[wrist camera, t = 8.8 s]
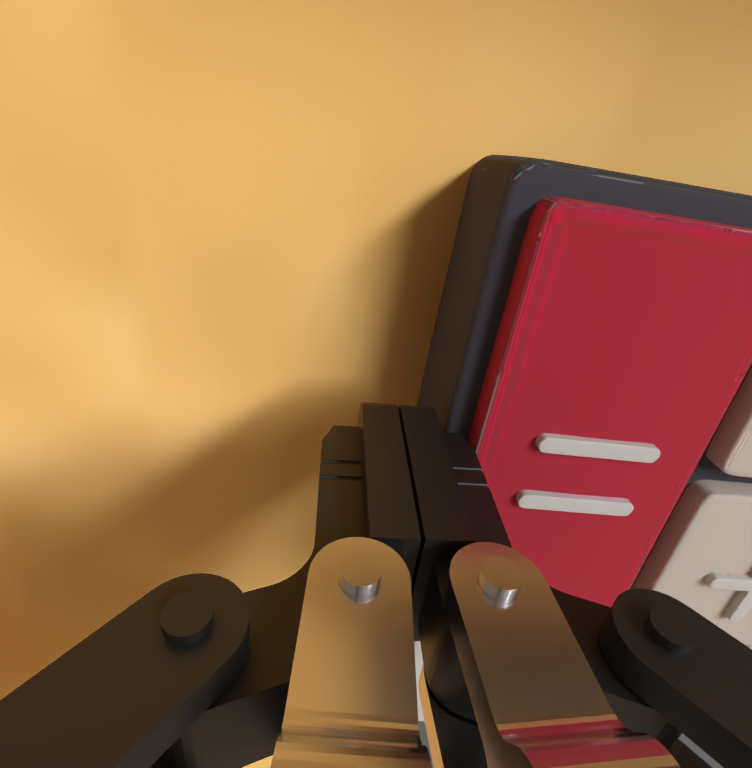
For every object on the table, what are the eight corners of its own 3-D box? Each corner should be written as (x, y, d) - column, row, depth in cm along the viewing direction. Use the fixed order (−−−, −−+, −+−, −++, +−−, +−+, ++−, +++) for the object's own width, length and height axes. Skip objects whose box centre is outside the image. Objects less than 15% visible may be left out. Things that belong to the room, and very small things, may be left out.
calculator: (1143, 263, 8) (729, 753, 15) (889, 224, 12) (649, 626, 19) (533, 154, 7) (373, 747, 13) (464, 149, 11) (366, 612, 17)
